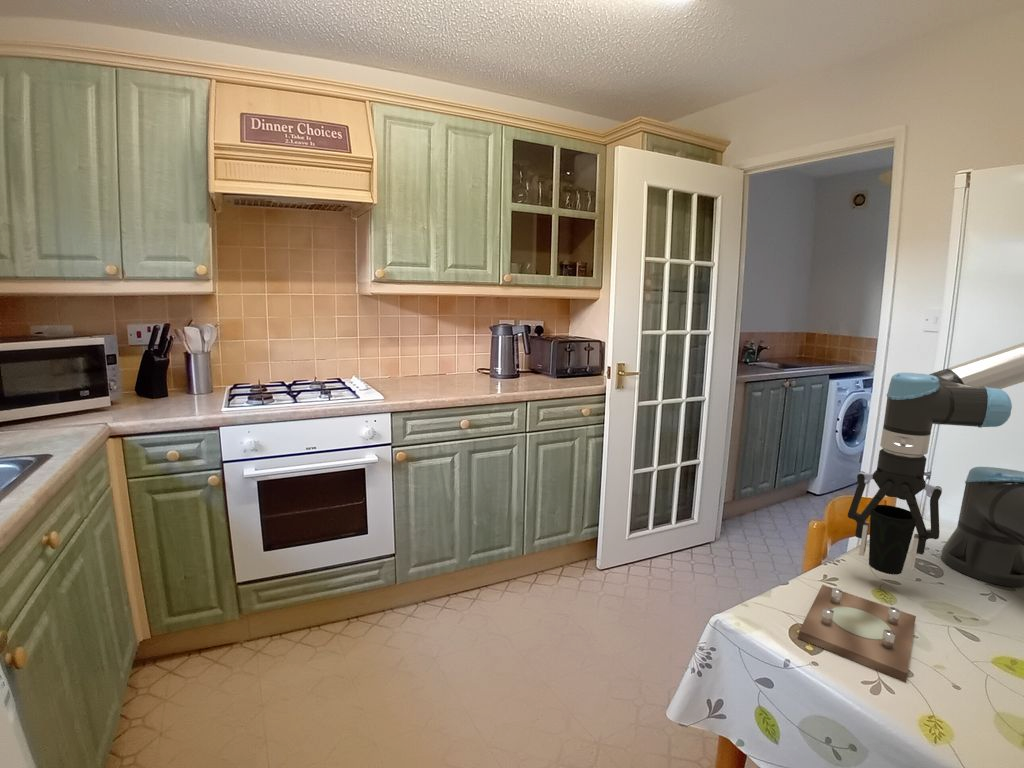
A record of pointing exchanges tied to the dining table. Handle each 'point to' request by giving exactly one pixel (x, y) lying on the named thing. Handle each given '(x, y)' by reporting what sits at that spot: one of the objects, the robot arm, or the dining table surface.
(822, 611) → the stub board
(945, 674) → the dining table surface
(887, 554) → the cup
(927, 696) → the dining table surface
